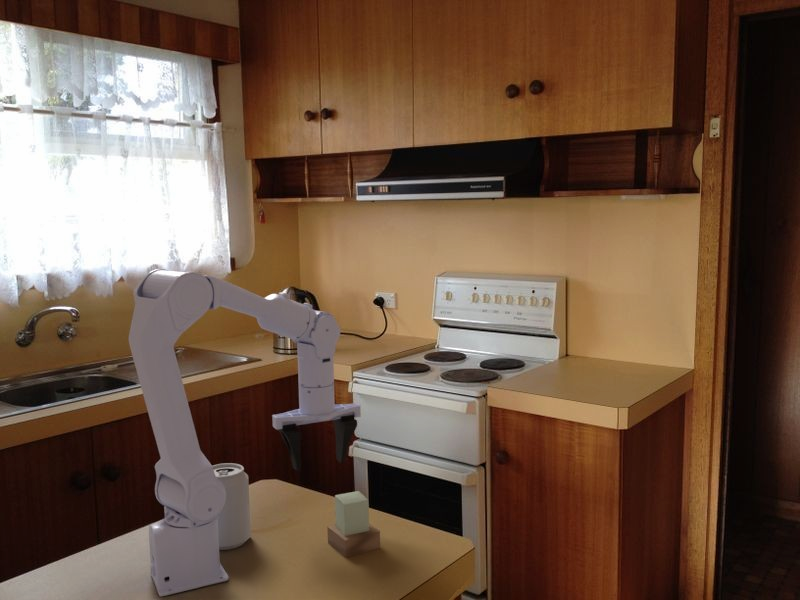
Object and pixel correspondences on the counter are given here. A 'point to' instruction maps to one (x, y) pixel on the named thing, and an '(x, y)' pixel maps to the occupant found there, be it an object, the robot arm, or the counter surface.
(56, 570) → the counter surface
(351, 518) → the green block
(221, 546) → the can
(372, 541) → the walnut slab
